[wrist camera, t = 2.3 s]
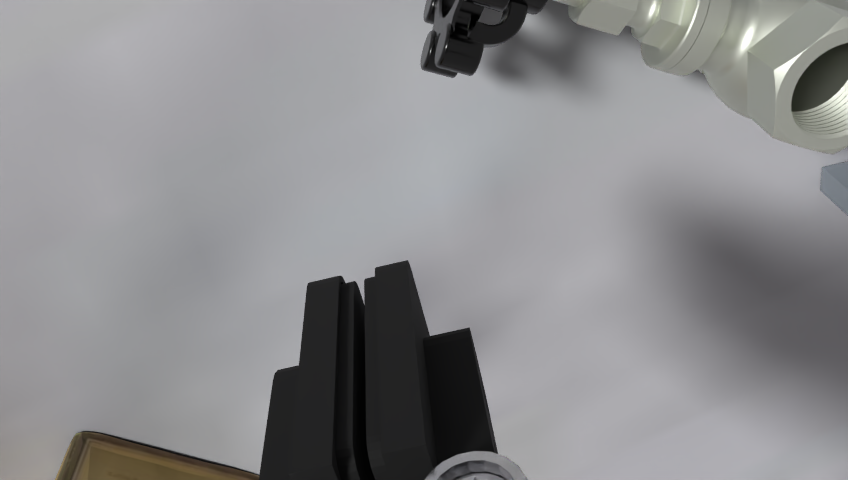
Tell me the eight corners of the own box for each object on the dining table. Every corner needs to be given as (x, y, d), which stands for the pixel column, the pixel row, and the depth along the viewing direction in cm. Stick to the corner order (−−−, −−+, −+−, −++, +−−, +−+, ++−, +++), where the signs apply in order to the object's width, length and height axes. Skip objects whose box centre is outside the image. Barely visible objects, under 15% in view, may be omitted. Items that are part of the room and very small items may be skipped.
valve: (842, -69, 23) (479, -196, 21) (994, -16, 18) (523, -181, 15) (737, 121, 27) (412, 32, 24) (836, 217, 21) (429, 114, 18)
